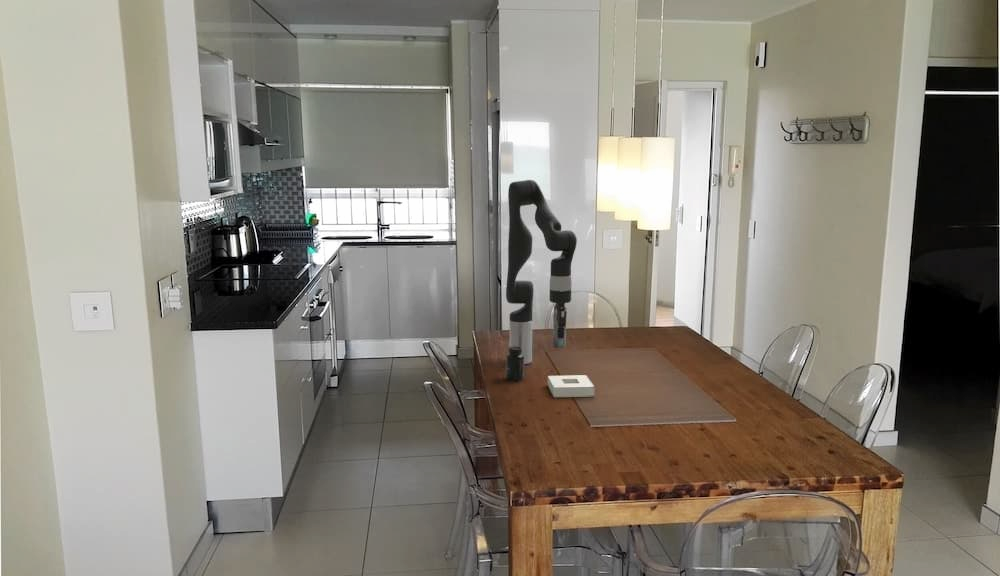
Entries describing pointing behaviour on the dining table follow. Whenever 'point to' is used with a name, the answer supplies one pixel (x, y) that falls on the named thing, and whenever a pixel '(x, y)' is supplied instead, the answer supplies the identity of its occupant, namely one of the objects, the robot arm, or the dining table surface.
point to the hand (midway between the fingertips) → (559, 336)
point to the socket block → (570, 386)
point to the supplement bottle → (515, 364)
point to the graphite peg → (557, 341)
